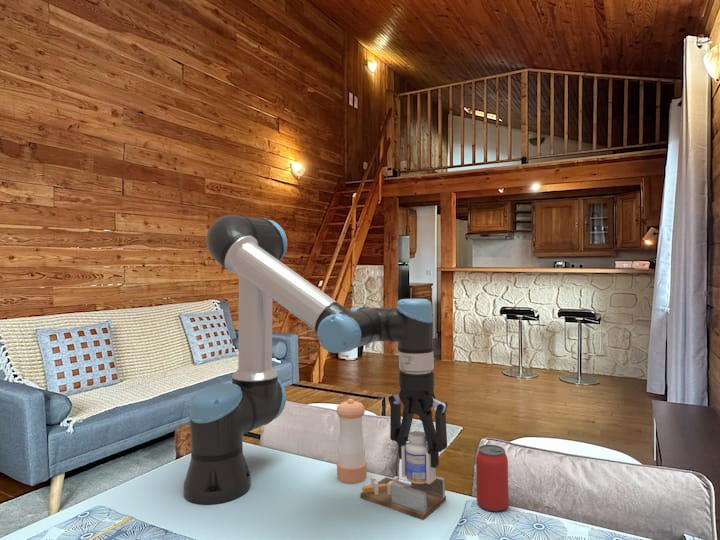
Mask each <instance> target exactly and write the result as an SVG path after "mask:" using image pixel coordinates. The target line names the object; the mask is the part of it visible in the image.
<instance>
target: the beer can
mask: <svg viewBox="0 0 720 540" xmlns="http://www.w3.org/2000/svg"><path fill="white" fill-rule="evenodd" d="M508 459H509V458H508V456H507V454H506V449H505V448H504V447H502V446H499V445H497V444H482V445H480V446H478V451H477V455H476V457H475V466H476V467H475V471H476V472H475V473H476V475H475V476H476V479H475V480H476V502H477V505H478V506H480V507H481V508H482V509H484V510H487V511H488V512H489V511H491V512H501V511H503V510H504V511H505V510H506V509H508V507H509V504H510V503H509V502H510V501H509V461H508Z"/></svg>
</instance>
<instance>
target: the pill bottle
mask: <svg viewBox="0 0 720 540" xmlns="http://www.w3.org/2000/svg"><path fill="white" fill-rule="evenodd" d="M408 440H409V441H407V442H406V443H407V444H406V477H405V478H406V480H407V481H408V482H410V483H411V482H412V483H415V484H423V483H427V480H426V452H427V451H429V448H428V444H427V440H426V436H425V432H424V431H419V430H418V431H417V430H416V431H411V432H409V437H408Z"/></svg>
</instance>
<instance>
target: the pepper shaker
mask: <svg viewBox="0 0 720 540" xmlns="http://www.w3.org/2000/svg"><path fill="white" fill-rule="evenodd" d="M365 412H366V408H365V406H364V405H363V403H361V402H359V401H356V400H354V399H353V398H349V399H347V400H346V401H343V402H340V403H339V404H338V406H337V407H336V415H337V416H338V417H339V438H338V446H337V447H338V448H337V454H338V456H337V459H338V461H337V463H336V475H337V476H336V478H337V480H338V481H339V482H341V483H345V484H358V483H362V482H364V481H366V479H367V473H368V472H367V471H368V470H367V468H368V467H367V461H366V447H365V441H364V434H363V416H364V415H365Z"/></svg>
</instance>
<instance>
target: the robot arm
mask: <svg viewBox="0 0 720 540" xmlns="http://www.w3.org/2000/svg"><path fill="white" fill-rule="evenodd" d="M205 242H206V247H207V250H208V253H209V254H210V256H211V257H212V258H213V259H214V261H215V262H216V263H218V264H219V265H220V266H222V268H224V269H225V270H226V271H228V273H233V274H236V275H237V277H238V349H237V350H238V352H237V353H238V356H237V357H238V359H237V363H238V364H237V365H238V368H237V370H236V371H235V372H234V373H233V374H232V375H231V376H232V377H231V378H232V379H231V380H232V381H231V382H232V383H227V382H225V383H224V382H223V383H217V384H216V385H213V384H212V385H209V386H206V387H204V388H200V390H198V391H197V392H195V393H194V394H193V396H192V397H191V399H190V406H189V407H190V409H189V414H188V415H189V416H188V417H189V427H190V428H189V429H190V430H189V431H190V462H189V465H188V468H187V473H186V476H185V480H184V483H183V496H184V498H185V499H186V500H187V501H189V502H191V503H195V504H198V505H199V504H201V505H212V504H213V505H214V504H220V503H221V504H222V503H225V502H229V501H233V500H235V499H237V498H240V497H241V496H243V495H244V494H246V493H247V492H248V491H249V490H250V488H251V486H252V477H251V476H252V475H251V472H250V469H249V467H248V464H247V461H246V458H245V455H244V452H243V451H244V450H243V448H244V447H243V435H245V434H247V433H249V432H251V431H254V430H256V429H258V428H261V427H263V426H266V425H268V424H269V423H271V422H273V421H274V420H276V419H277V418H278V417H279V416H281V414H282V412H283V411H284V409H285V407H286V402H287V392H286V388H285V387H284V386H283V382H282V381H281V379H279V378H278V377H279V374H278V372H277V371H276V370H275V369H274V368H273V302H274V301H275V302H277V304H279V305H280V306H281V307H283V308H284V309H286V310H287V311H288V312H289V313H291V314H292V315H294V316H295V317H296V318H297V319H299V320H300V321H301V322H303V323H304V324H305V325H307V326H308V327H309V328H311V329H312V330H314V332H316V333H317V339H318V340H319V343H320V345H321V346H322V348H323V349H325V350H326V351H327V352H329V353H333V354H339V353H346V352H350V351H353V350H354V349H356V348H360V347H362V346H366V345H369V344H372V343H374V342H375V343H376V342H388V343H389V342H391V343H397V344H398V348H397V349H398V369H399V370H400V371H399V372H398V380H399V381H398V386H399V393H398V394H397V393H394V394H391V395H389V396H388V398H387V399H388V403H389V406H390V417H389V418H390V420H389V421H390V422H389V423H390V429H389V431H390V433H389V434H390V436H389V437H390V440H391V441H392V442H394V441H395V442H396V443H397V444H398V458H399V460H401V477H404V478H406V444H407V443H408V442H409V440H408V438H409V433H410V431H411V427H412V423H413V418H414V415H417V416H418V417H419V418H418V419H419V420H420V421H421V423H422V427H423V432H425V436H426V440H427V444H428V448H429V451H427V452H426V480H427V484H431V483H432V482H433V481H435V480H436V476H437V469H436V468H438V466H439V465H440V454H439V453H441V452H443V451H444V450H445V449H447V448H448V437H447V435H448V434H447V419H446V418H447V415H446V413H447V409H448V406H449V405H448V403H447V402H446V401H444V402H442V401H440V400H438V399H437V398H436V395H435V391H434V390H435V373H434V371H433V370H434V369H435V363H434V362H435V360H434V358H435V357H434V316H433V315H434V314H433V306H432V305H433V304H432V301H430V300H429V299H426V298H402V299H399V300H398V301H397V304H396V305H397V306H396V307H371V306H370V307H368V306H362V307H361V306H359V307H353V308H351V309H350V310H349V309H348V308H346V307H345V306H343V305H342V304H340V303H339V302H337V301H336V299H333V298H332V297H331V296H329V295H328V294H326V293H325V292H324V291H323V290H321V289H320V288H319V287H317V286H315V285H314V284H312V282H310V281H308V280H307V279H306V278H304V277H303V276H302V275H300V274H298V273H297V272H296V271H294V270H293V269H292V268H290V267H288V266H287V265H286V264H285V263H283V262H282V260H283V258H284V256H285V255H286V253H287V250H288V238H287V235H286V233H285V230H284V229H283V228H282V227H281V225H279V223H277V222H276V221H274V220H270V219H268V218H265V217H254V216H243V215H238V214H227V215H224V216H222V217H219V218H217V219H216V220H215V221H214V222H213V223H211V225H210V227H209V228H208V230H207V233H206V240H205ZM273 300H274V301H273ZM401 403H402V404H401ZM402 405H403V409H402ZM432 408H434V409H433V411H434V412H435V413H434V418H433V411H432ZM401 413H402V414H401ZM433 419H434V420H433Z"/></svg>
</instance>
